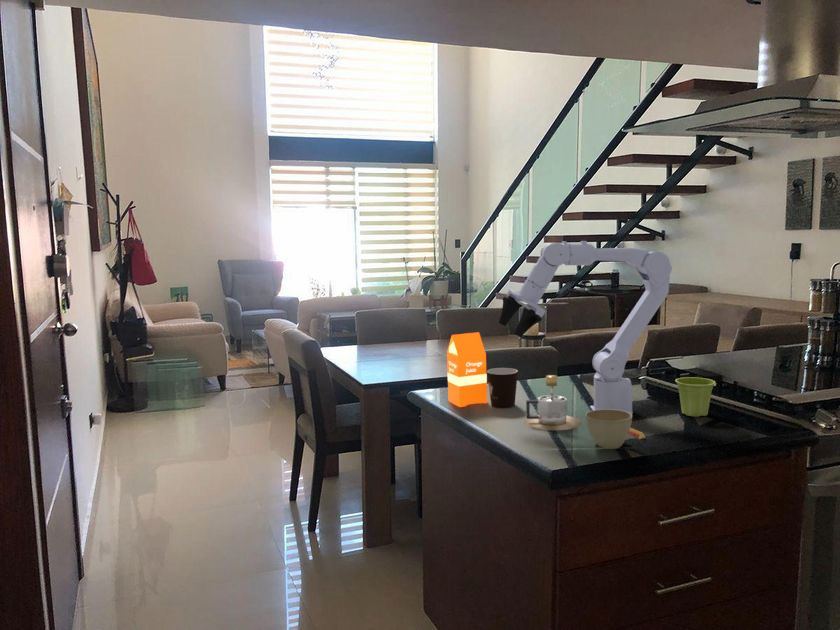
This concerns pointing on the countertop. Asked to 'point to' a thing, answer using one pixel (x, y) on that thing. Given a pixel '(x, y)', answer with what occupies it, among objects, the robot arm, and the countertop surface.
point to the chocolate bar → (636, 433)
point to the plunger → (551, 388)
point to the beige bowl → (609, 427)
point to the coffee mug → (502, 387)
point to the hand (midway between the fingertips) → (509, 329)
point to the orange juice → (466, 370)
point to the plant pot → (695, 395)
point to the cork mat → (570, 424)
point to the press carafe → (549, 411)
